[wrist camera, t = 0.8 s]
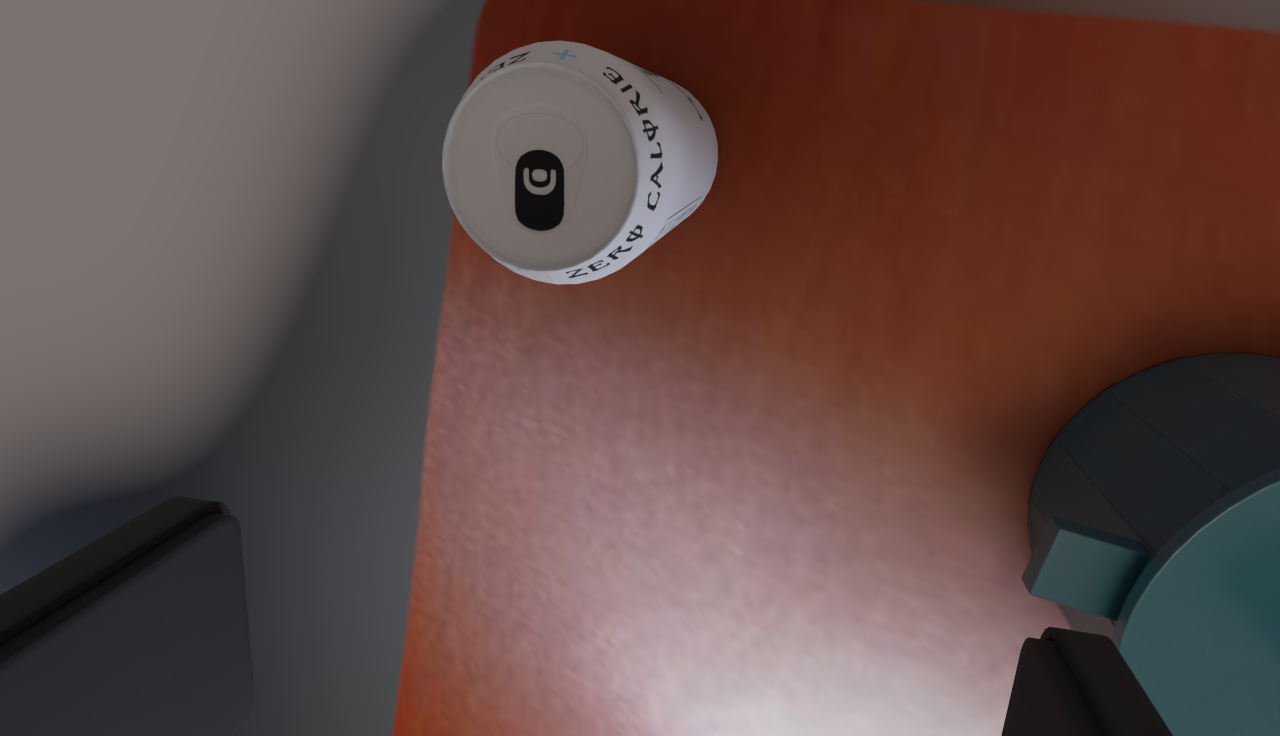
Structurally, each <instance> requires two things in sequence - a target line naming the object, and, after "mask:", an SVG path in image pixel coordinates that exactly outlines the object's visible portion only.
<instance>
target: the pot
mask: <svg viewBox="0 0 1280 736" xmlns="http://www.w3.org/2000/svg"><path fill="white" fill-rule="evenodd" d="M1278 468H1280V359H1279V358H1274V357H1269V356H1265V355H1258V354H1241V353H1228V354H1209V355H1202V356H1194V357H1187V358H1183V359H1179V360H1175V361H1171V362H1168V363H1164V364H1160V365H1158V366H1155V367H1152V368H1150V369H1147V370H1144V371H1142V372H1139V373H1137V374H1135V375H1133V376H1131V377H1129V378H1127V379H1125V380H1123V381H1121V382H1119V383H1117V384H1115V385H1114V386H1112V387H1111V388H1109V389H1108V390H1106V391H1105V392H1103V393H1102V394H1100V395H1099V396H1097V397H1096V398H1094V399H1093V400H1092V401H1091V402H1090V403H1089V404H1087V405H1086V406H1085V407H1084V408H1083V409H1081V410H1080V411H1079V412H1078V413H1077V414H1076V415H1075V416H1074V417H1073V418H1072V419H1071V420H1070V422H1069V423H1068V424H1067V425H1066V426H1065V427H1064V428H1063V429H1062V430H1061V432H1060V433H1059V435H1058V436H1057V437H1056V439H1055V440H1054V442H1053V443H1052V444H1051V446H1050V447H1049V449H1048V451H1047V453H1046V455H1045V457H1044V459H1043V461H1042V463H1041V464H1040V467H1039V470H1038V472H1037V475H1036V478H1035V481H1034V483H1033V488H1032V492H1031V497H1030V502H1029V518H1028V525H1029V535H1030V542H1031V546H1032V556H1031V558H1030V560H1029V563H1028V565H1027V567H1026V569H1025V571H1024V573H1023V576H1022V581H1023V582H1024V584H1025V586H1026V588H1027V590H1028V592H1029V594H1031V595H1034V596H1037V597H1040V598H1043V599H1047V600H1050V601H1053V602H1056V603H1057V604H1058V606H1059V608H1060V610H1061V612H1062V613H1063V615H1064V617H1065V619H1066V620H1067V622H1068V624H1069V626H1070V627H1071V629H1072V630H1074V631H1080V632H1087V633H1094V634H1100V635H1105V636H1108V637H1109V638H1110V639H1111V640H1112V636H1113V632H1114V628H1115V624H1116V622H1117V619H1118V617H1119V614H1120V612H1121V610H1122V607H1123V605H1124V603H1125V600H1126V598H1127V596H1128V594H1129V593H1130V591H1131V589H1132V588H1133V586H1134V585H1135V583H1136V581H1137V580H1138V578H1139V576H1140V575H1141V573H1142V571H1143V570H1144V569H1145V568H1146V566H1147V565H1148V564H1149V563H1150V561H1151V560H1152V559H1153V558H1154V556H1155V555H1156V554H1157V553H1158V552H1159V550H1160V549H1161V548H1162V547H1163V545H1164V544H1166V543H1167V542H1168V541H1169V540H1170V539H1171V538H1172V537H1173V536H1174V535H1175V534H1176V533H1177V532H1178V531H1179V530H1180V529H1181V528H1182V527H1183V526H1184V525H1185V524H1187V523H1188V522H1189V521H1190V520H1191V519H1193V518H1194V517H1195V516H1197V515H1198V514H1199V513H1201V512H1202V511H1203V510H1205V509H1206V508H1207V507H1209V506H1210V505H1211V504H1213V503H1214V502H1215V501H1217V500H1218V499H1220V498H1222V497H1223V496H1225V495H1227V494H1228V493H1230V492H1232V491H1234V490H1235V489H1237V488H1239V487H1240V486H1242V485H1244V484H1246V483H1247V482H1249V481H1251V480H1253V479H1255V478H1257V477H1260V476H1262V475H1264V474H1266V473H1269V472H1271V471H1273V470H1275V469H1278Z"/></svg>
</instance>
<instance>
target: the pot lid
mask: <svg viewBox="0 0 1280 736" xmlns="http://www.w3.org/2000/svg"><path fill="white" fill-rule="evenodd" d="M1112 641H1113V643H1114V644H1115V646H1116V647H1117V649H1118V651H1119V652H1120V654H1121V655H1122V657H1123V658H1124V660H1125V661H1126V663H1127V665H1128V666H1129V668H1130V669H1131V671H1132V672H1133V674H1134V676H1135V677H1136V679H1137V680H1138V682H1139V683H1140V685H1141V686H1142V688H1143V690H1144V691H1145V693H1146V694H1147V696H1148V697H1149V699H1150V700H1151V702H1152V704H1153V705H1154V707H1155V708H1156V710H1157V711H1158V713H1159V715H1160V716H1161V718H1162V719H1163V721H1164V722H1165V724H1166V725H1167V727H1168V729H1169V730H1170V732H1171V733H1172V735H1173V736H1280V468H1278V469H1275V470H1273V471H1271V472H1269V473H1266V474H1264V475H1262V476H1260V477H1257V478H1255V479H1253V480H1251V481H1249V482H1247V483H1246V484H1244V485H1242V486H1240V487H1239V488H1237V489H1235V490H1234V491H1232V492H1230V493H1228V494H1227V495H1225V496H1223V497H1222V498H1220V499H1218V500H1217V501H1215V502H1214V503H1213V504H1211V505H1210V506H1209V507H1207V508H1206V509H1205V510H1203V511H1202V512H1201V513H1199V514H1198V515H1197V516H1195V517H1194V518H1193V519H1191V520H1190V521H1189V522H1188V523H1187V524H1185V525H1184V526H1183V527H1182V528H1181V529H1180V530H1179V531H1178V532H1177V533H1176V534H1175V535H1174V536H1173V537H1172V538H1171V539H1170V540H1169V541H1168V542H1167V543H1166V544H1164V545H1163V547H1162V548H1161V549H1160V550H1159V552H1158V553H1157V554H1156V555H1155V556H1154V558H1153V559H1152V560H1151V561H1150V563H1149V564H1148V565H1147V566H1146V568H1145V569H1144V570H1143V571H1142V573H1141V575H1140V576H1139V578H1138V580H1137V581H1136V583H1135V585H1134V586H1133V588H1132V589H1131V591H1130V593H1129V594H1128V596H1127V598H1126V600H1125V603H1124V605H1123V607H1122V610H1121V612H1120V614H1119V617H1118V619H1117V622H1116V624H1115V628H1114V632H1113V636H1112Z"/></svg>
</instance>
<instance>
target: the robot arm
mask: <svg viewBox="0 0 1280 736" xmlns="http://www.w3.org/2000/svg"><path fill="white" fill-rule="evenodd" d="M243 566H244V565H243V553H242V541H241V530H240V525H239V522H238V520H237V519H236V518H235V517H233V516H231V514H230V511H229V509H228V508H227V506H226V505H224V504H223V503H221V502H216V501H210V500H203V499H196V498H189V497H183V496H175V497H172V498H170V499H167V500H166V501H164V502H162V503H161V504H159V505H157V506H155V507H153V508H152V509H150V510H148V511H147V512H145V513H143V514H141V515H140V516H138V517H136V518H134V519H132V520H131V521H129V522H127V523H126V524H124V525H122V526H120V527H118V528H117V529H115V530H113V531H112V532H110V533H108V534H106V535H105V536H103V537H101V538H99V539H98V540H96V541H94V542H92V543H91V544H89V545H87V546H85V547H84V548H82V549H80V550H78V551H77V552H75V553H73V554H71V555H70V556H68V557H66V558H64V559H63V560H61V561H59V562H58V563H56V564H54V565H52V566H50V567H49V568H47V569H45V570H43V571H42V572H40V573H38V574H36V575H35V576H33V577H31V578H30V579H28V580H26V581H24V582H22V583H21V584H19V585H17V586H15V587H14V588H12V589H10V590H9V591H7V592H5V593H3V594H2V595H0V736H236V735H237V734H238V733H239V732H240V731H241V730H242V728H243V727H244V726H245V724H246V722H247V721H248V719H249V717H250V714H251V712H252V709H253V705H254V685H253V673H252V660H251V648H250V637H249V624H248V613H247V600H246V589H245V577H244V567H243ZM1002 736H1173V735H1172V733H1171V732H1170V730H1169V729H1168V727H1167V725H1166V724H1165V722H1164V721H1163V719H1162V718H1161V716H1160V715H1159V713H1158V711H1157V710H1156V708H1155V707H1154V705H1153V704H1152V702H1151V700H1150V699H1149V697H1148V696H1147V694H1146V693H1145V691H1144V690H1143V688H1142V686H1141V685H1140V683H1139V682H1138V680H1137V679H1136V677H1135V676H1134V674H1133V672H1132V671H1131V669H1130V668H1129V666H1128V665H1127V663H1126V661H1125V660H1124V658H1123V657H1122V655H1121V654H1120V652H1119V651H1118V649H1117V647H1116V646H1115V644H1114V643H1113V641H1112V640H1111V639H1110V638H1109V637H1108V636H1105V635H1100V634H1094V633H1087V632H1080V631H1074V630H1067V629H1060V628H1054V627H1048V628H1047V629H1045V631H1044V632H1043V634H1042V635H1041V638H1040V639H1035V638H1027V639H1026V640H1025V642H1024V643H1023V646H1022V649H1021V653H1020V657H1019V661H1018V666H1017V670H1016V675H1015V679H1014V683H1013V688H1012V692H1011V697H1010V701H1009V705H1008V710H1007V714H1006V718H1005V723H1004V727H1003V732H1002Z"/></svg>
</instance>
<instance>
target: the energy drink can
mask: <svg viewBox="0 0 1280 736" xmlns="http://www.w3.org/2000/svg"><path fill="white" fill-rule="evenodd" d="M442 158H443V159H442V169H443V178H444V186H445V189H446V192H447V196H448V199H449V202H450V205H451V207H452V209H453V211H454V213H455V215H456V217H457V219H458V221H459V223H460V224H461V225H462V227H463V228H464V229H465V231H466V232H467V233H468V235H469V236H470V237H471V239H473V240H474V241H475V242H476V243H477V244H478V245H479V246H480V247H481V248H482V249H483V250H484V251H486V252H487V253H489V254H490V255H491V256H492V257H493V258H494V259H495V260H496V261H498V262H499V263H501V264H502V265H504V266H506V267H507V268H509V269H510V270H512V271H513V272H515V273H518V274H520V275H523V276H525V277H528V278H531V279H533V280H536V281H541V282H547V283H553V284H579V283H584V282H588V281H592V280H597V279H600V278H602V277H605V276H607V275H609V274H611V273H613V272H615V271H618V270H620V269H621V268H622V267H624V266H625V265H626V264H628V263H629V262H630V261H632V260H633V259H635V258H636V257H637V256H639V255H640V254H641V253H642V252H644V251H645V250H646V249H647V248H649V247H650V246H651V245H653V244H654V243H655V242H656V241H658V240H659V239H660V238H661V237H663V236H664V235H665V234H667V233H668V232H669V231H670V230H672V229H673V228H674V227H675V226H677V225H678V224H679V223H681V222H682V221H683V220H684V219H686V218H687V217H688V216H689V215H691V214H692V213H693V212H694V211H695V210H696V209H697V208H698V207H699V205H700V204H701V203H702V202H703V200H704V199H705V197H706V196H707V194H708V192H709V191H710V189H711V186H712V183H713V181H714V178H715V175H716V169H717V163H718V143H717V139H716V134H715V130H714V127H713V125H712V122H711V120H710V118H709V116H708V114H707V112H706V111H705V109H704V108H703V107H702V105H701V104H700V102H699V101H698V100H697V99H696V98H695V97H694V96H693V95H692V94H691V93H689V92H688V91H687V90H685V89H684V88H682V87H681V86H679V85H677V84H676V83H674V82H672V81H670V80H667V79H665V78H663V77H661V76H658V75H656V74H654V73H652V72H650V71H647V70H645V69H643V68H641V67H638V66H636V65H634V64H632V63H630V62H627V61H625V60H623V59H621V58H618V57H616V56H614V55H612V54H609V53H607V52H605V51H602V50H599V49H597V48H594V47H591V46H588V45H586V44H582V43H575V42H567V41H548V42H537V43H533V44H530V45H527V46H524V47H521V48H517V49H514V50H513V51H511V52H509V53H507V54H506V55H504V56H502V57H500V58H499V59H497V60H495V61H494V62H493V63H492V64H490V65H489V66H488V67H487V68H486V69H485V70H484V71H483V72H482V73H480V74H479V75H478V76H477V77H476V79H475V80H474V82H473V83H472V84H471V86H470V87H469V88H468V90H467V91H466V92H465V94H464V95H463V97H462V100H461V102H460V103H459V105H458V106H457V108H456V110H455V112H454V114H453V116H452V118H451V121H450V123H449V125H448V128H447V132H446V136H445V140H444V144H443V157H442Z"/></svg>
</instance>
